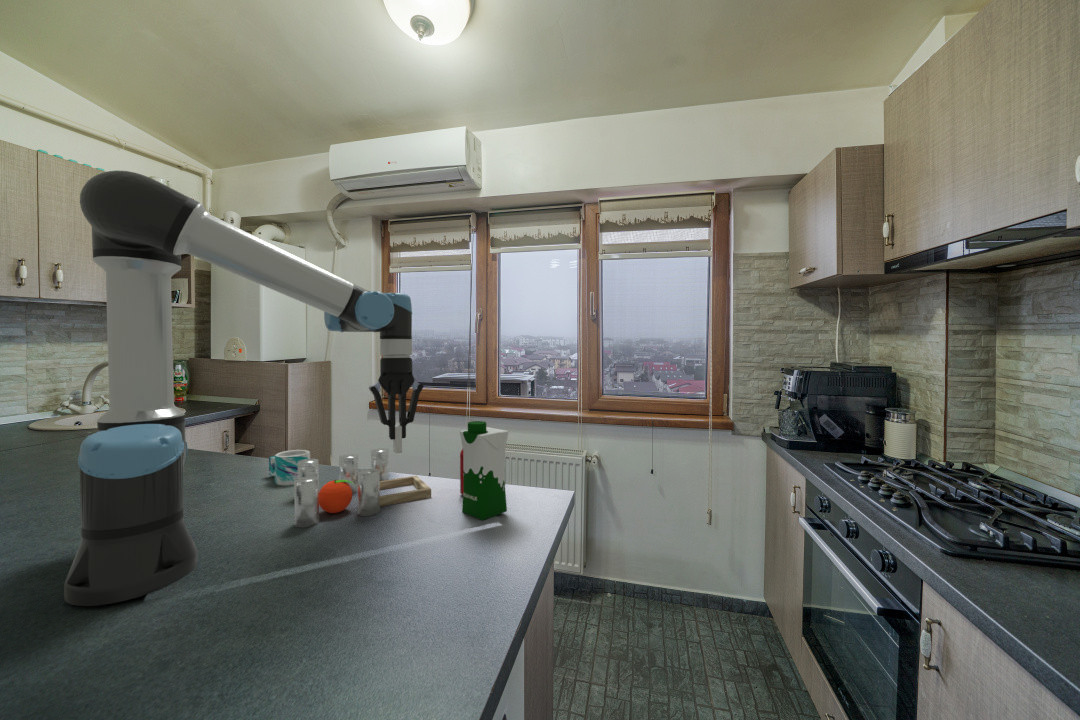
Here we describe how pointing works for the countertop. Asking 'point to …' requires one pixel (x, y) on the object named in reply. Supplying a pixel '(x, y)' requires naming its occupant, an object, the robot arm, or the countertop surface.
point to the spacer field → (348, 470)
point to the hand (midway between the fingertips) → (397, 451)
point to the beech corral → (404, 496)
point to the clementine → (335, 496)
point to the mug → (286, 466)
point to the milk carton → (483, 470)
